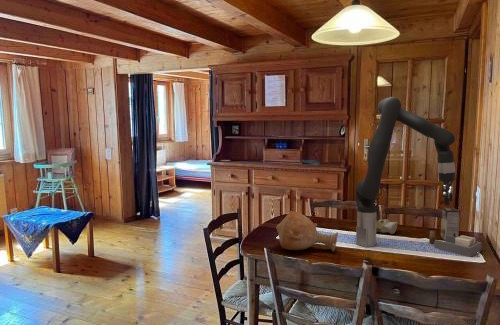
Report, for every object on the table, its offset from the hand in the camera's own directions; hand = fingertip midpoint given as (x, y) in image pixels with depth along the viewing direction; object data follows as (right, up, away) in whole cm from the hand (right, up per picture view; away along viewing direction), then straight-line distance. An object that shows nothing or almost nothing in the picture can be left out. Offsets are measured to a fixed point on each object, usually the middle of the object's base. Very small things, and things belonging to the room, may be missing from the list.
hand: (448, 203), depth 183 cm
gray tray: (0, -22, -7) cm, 23 cm away
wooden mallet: (-2, -21, -4) cm, 22 cm away
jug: (-72, -23, -4) cm, 76 cm away
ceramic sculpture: (-24, -20, +24) cm, 39 cm away
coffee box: (+6, -20, +10) cm, 23 cm away
